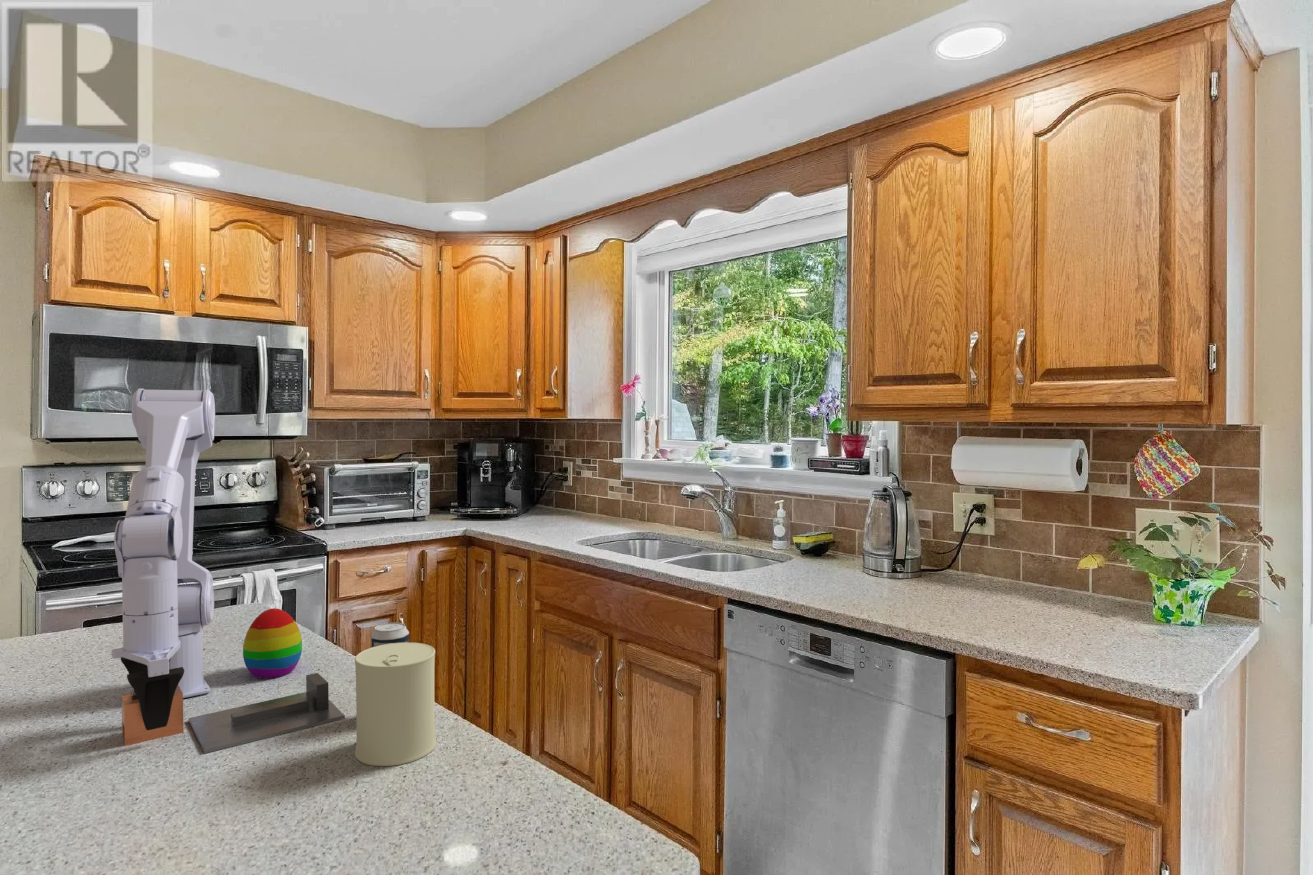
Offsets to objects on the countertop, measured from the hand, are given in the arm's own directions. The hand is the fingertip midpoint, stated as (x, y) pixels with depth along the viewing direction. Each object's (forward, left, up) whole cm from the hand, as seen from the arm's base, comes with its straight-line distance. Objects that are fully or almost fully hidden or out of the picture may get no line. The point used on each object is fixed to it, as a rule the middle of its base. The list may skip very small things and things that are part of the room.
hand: (152, 717), depth 93 cm
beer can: (+13, +25, -2) cm, 28 cm away
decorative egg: (-15, +17, -2) cm, 23 cm away
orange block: (0, 0, -2) cm, 2 cm away
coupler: (+4, +12, -2) cm, 13 cm away
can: (+23, +22, -2) cm, 32 cm away
